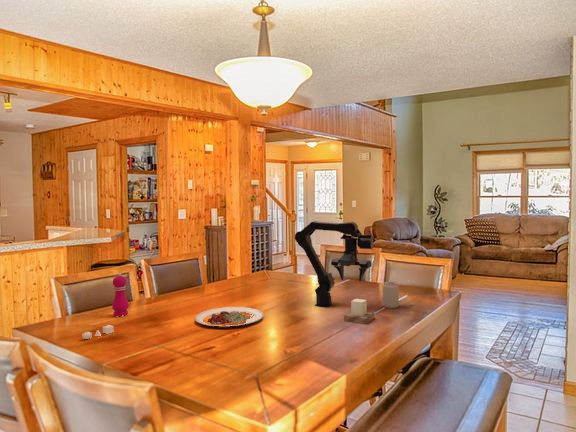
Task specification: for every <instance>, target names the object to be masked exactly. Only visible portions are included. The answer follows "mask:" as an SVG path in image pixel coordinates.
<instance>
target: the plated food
mask: <svg viewBox="0 0 576 432" xmlns="http://www.w3.org/2000/svg"><path fill="white" fill-rule="evenodd" d="M233 311H234V312H233ZM228 312H229V313H228ZM240 312H246V313H249V314H252V315H250V316H251V317H252V316H253V315H254V316H253V317H252V318H251V317H250V319H247V318H246V317H245V316H249V315H244V314H241V313H240ZM215 313H220V314H217V315H216V314H215ZM209 315H211V318H209V319H208V321H207V322H210V323H211V324H215V323H216V324H219V323H220V324H225V323H231V322H232V323H236V322H238V323H240V322H243V321H246V323H244V324H238V325H226V326H222V325H211V324H207V323H205V322H203V319H204V318H205V317H207V316H209ZM263 318H264V313H263V312H262V311H261V310H259V309H257V308H253V307H245V306H244V307H242V306H233V307H232V306H227V307H217V308H211V309H208V310H204V311H202V312H199V313H198V314H196V315H195V317H194V319H195V320H194V321H195V322H197V323H198V324H200V325H203V326H209V327H214V326H219V327H218V328H231V327H230V326H236V327H240V326H239V325H242V326H246V325H249V324H253V323H256V322H258V321H261V319H263ZM245 324H246V325H245Z"/></svg>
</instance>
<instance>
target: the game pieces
mask: <svg viewBox="0 0 576 432" xmlns="http://www.w3.org/2000/svg"><path fill="white" fill-rule="evenodd" d="M112 332H115V331H114V325H111V324H108V325H105V326H104V325H103V326H102V333H101V332H100V330H98V329H97V330H96V332H95V333H94V336H101V335H102V334H103V333H106V334H109V333H112ZM109 335H110V334H109ZM81 337H82V339H83V340H84V339H88V340H90V339H91V338H92V337H93V332H91V331H85V332H83V333H81ZM101 337H102V336H101ZM89 338H90V339H89Z"/></svg>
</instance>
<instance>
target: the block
mask: <svg viewBox="0 0 576 432" xmlns="http://www.w3.org/2000/svg"><path fill="white" fill-rule="evenodd" d="M367 302H368V300H367V299H362V298H354V299H353V300H351V303H350V307H351V310H350V312H351V315H356V316H364V315H365V314H367V312H368V311H367V309H368V308H367V307H368V306H367V305H368V304H367Z"/></svg>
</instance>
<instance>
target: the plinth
mask: <svg viewBox="0 0 576 432" xmlns="http://www.w3.org/2000/svg"><path fill="white" fill-rule="evenodd" d="M374 320H375V312H369V311H367V314H365V315H364V316H356V315H351V311H349V312H348V313H346V314H344V315H343V321H344V322H348V323H352V324H360V325H367V324H369V323H371V322H372V321H374Z"/></svg>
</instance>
